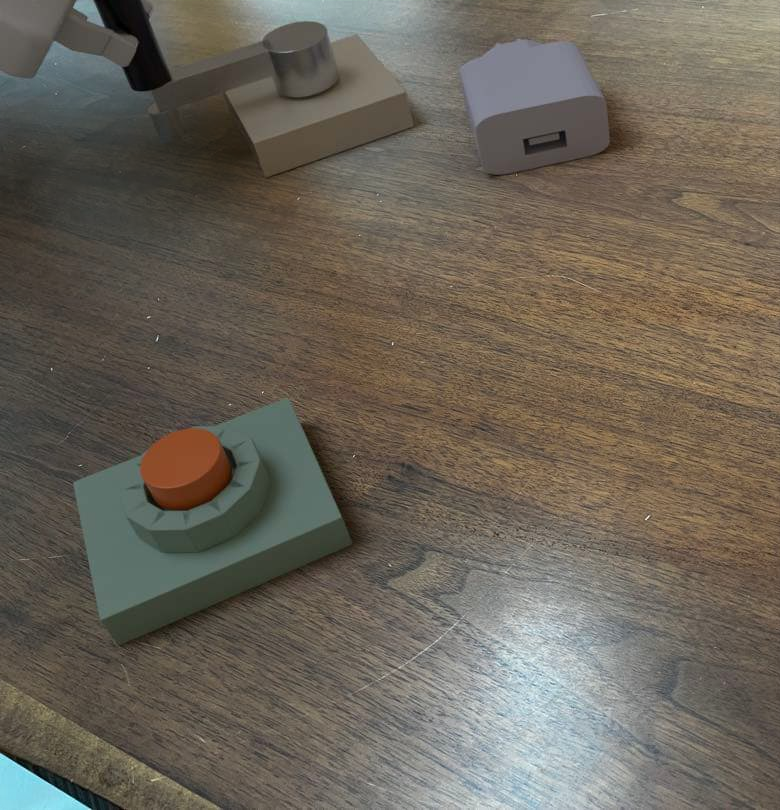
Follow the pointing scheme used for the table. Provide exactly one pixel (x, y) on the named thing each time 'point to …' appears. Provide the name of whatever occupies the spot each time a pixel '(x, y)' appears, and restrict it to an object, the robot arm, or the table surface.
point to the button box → (208, 527)
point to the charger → (533, 106)
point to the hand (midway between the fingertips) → (141, 36)
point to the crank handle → (220, 65)
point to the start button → (186, 469)
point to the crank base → (321, 112)
